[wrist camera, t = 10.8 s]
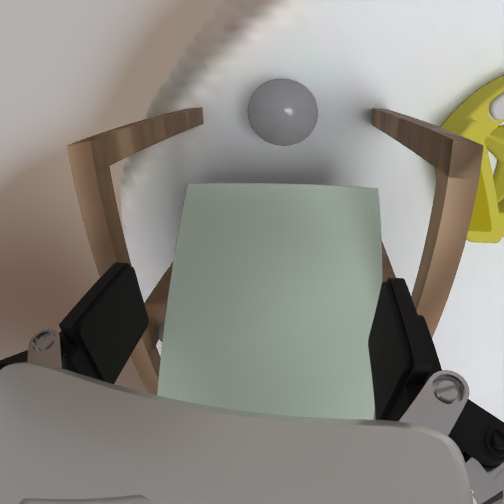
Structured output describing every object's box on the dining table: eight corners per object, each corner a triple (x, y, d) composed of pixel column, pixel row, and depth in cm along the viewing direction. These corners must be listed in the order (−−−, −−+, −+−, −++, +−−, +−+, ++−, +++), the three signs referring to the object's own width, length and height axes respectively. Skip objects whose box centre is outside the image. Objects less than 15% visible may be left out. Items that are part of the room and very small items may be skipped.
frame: (389, 110, 24) (483, 145, 10) (366, 300, 34) (384, 429, 20) (186, 109, 27) (67, 145, 13) (207, 291, 37) (155, 407, 23)
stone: (317, 146, 22) (317, 136, 26) (317, 79, 20) (316, 81, 24) (249, 145, 23) (260, 135, 27) (246, 79, 21) (257, 81, 25)
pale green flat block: (370, 216, 25) (383, 188, 21) (363, 411, 21) (378, 425, 16) (201, 211, 28) (182, 183, 23) (178, 394, 23) (151, 402, 18)
